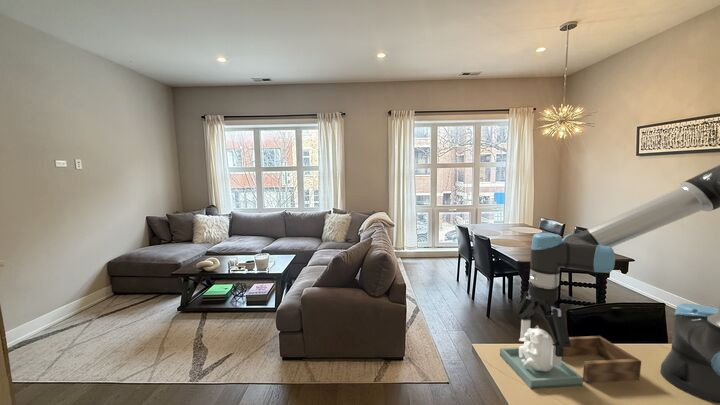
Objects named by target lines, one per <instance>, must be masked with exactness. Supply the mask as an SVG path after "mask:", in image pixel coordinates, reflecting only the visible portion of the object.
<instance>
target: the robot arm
mask: <svg viewBox="0 0 720 405" xmlns="http://www.w3.org/2000/svg"><path fill="white" fill-rule="evenodd" d="M717 209H720V164H719V165H717V166H714V167H712V168H710V169H708V170H705V171H703V172H702V173H699V174H698V175H695V176H693V177H691V178H689V179H687V180H685V181H682V182H681V183H680V185H679V187H678V188H676V189H674V190H672V191H670V192H667V193H665V194H662V195H660V196H659V197H656V198H654V199H652V200H649V201H648V202H646V203H643V204H641V205H639V206H636V207H635V208H632V209H629V210H628V211H625V212H623V213H621V214H619V215H616V216H615V217H612V218H610V219H607V220H604V221H603V222H601V223H599V224H596V225H595V226H592V227H590V228H588V229H585V230H582V231H581V232H578V233H571V234H570V233H569V234H567V235H565V236H564V237H562V236H561V235H560V234H557V233H552V232H551V233H549V232H536V233H535V234H533V236H532V240H531V247H530V262H529V264H530V266H529V269H530V270H529V283H528V291H524V292H523V298H522V299H521V302H520V304H519V306H518V308H517V309H516V314H517V315H519V318H520V335H519V336H520V337H519V339H520V338H524V334H525V333H527V330H528V329H529V328H531V323H532V322H531V317H532V316H533V315H534V314H535V313H537V314H539V315H540V316H541V317H542V319H543V321H545V324H546V326H547V328H548V331H549V333H550V336H551V338H552V341H554V343H552V346H551V360H550V365H551V366H561V360H562V357H563V350H564V347H571V343H570V340H569V337H570V336H569V332H568V329H567V326H566V321H565V315H564V309H563V308H557V307H556V306H555V302H556V301H557V300H558V299H559V298H558V297H559V288H558V287H559V285H560V270H561V268H563V269H571V270H578V271H586V272H592V273H603V274H604V273H607V274H608V273H609V274H610V273H611V272H612V271H613V270H614V268H615V264H616V255H615V252H614V249H613V247H615V246H618V245H621V244H622V243H625V242H627V241H628V242H629V241H630V240H633V239H636V238H637V237H639V236H642V235H645V234H647V233H650V232H652V231H654V230H657V229H661V228H662V227H664V226H667V225H670V224H671V223H675V222H676V221H679V220H682V219H684V218H686V217H689V216H691V215H693V214H696V213H699V212H701V211H704V212H709V213H710V212H712V211H714V210H717ZM673 314H674V317H673V318H674V320H673V328H672V329H673V330H672V338H671V339H672V341H671V349H670V351H669V352H668V354H667V355H666V357H664V359H663V361H662V363H661V364H660V372H659V373H660V375H661V376H662V377H663V379H665V381H667V382H669V383H670V384H671V385H673V386H674V387H676V388H677V389H679V390H682V391H684V392H686V393H688V394H690V395H693V396H696V397H698V398H701V399H702V400H707V401H710V402H713V403H718V404H720V302H719V305H718V307H712V306H708V305H701V304H695V303H694V304H693V303H679V304H678V305H676V307H675V312H674V313H673ZM563 358H564V357H563Z"/></svg>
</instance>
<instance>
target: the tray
mask: <svg viewBox="0 0 720 405" xmlns="http://www.w3.org/2000/svg"><path fill="white" fill-rule="evenodd" d="M519 347H520V346H518V347H501V348H499V357H501V358H502V359H503V361H505V363H506V364H507V365H508V367H510V368H511V369H512V370H513V371H514V373H515V374H517V376H518V377H519V378H520V379H521V380H522V381H523V382H524V384H526V386H528V388H529V389H530V390H537V389H555V388H569V387H572V388H573V387H582V386H583V383H584V381H583V376H581V375H580V374H579V373H577V372H576V370H574V369H573V368H571V366H569V365H568V364H566V362H564V361H563V360H562V359H561V366H553V368H552V369H551V370H549V371H546V372H544V371H537V370H534V369H533V368H532V367H531V366H530V367H527V368H525V367H524V366H523V364H522V361H521V360H520V358H519ZM524 359H525V361H526V358H525V356H524V357H523V360H524Z"/></svg>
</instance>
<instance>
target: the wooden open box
mask: <svg viewBox="0 0 720 405" xmlns="http://www.w3.org/2000/svg"><path fill="white" fill-rule="evenodd" d="M569 340H570V343H571V347H564V350H563V358H564V357H581V356H584V357H585V356H599V357H601V358H602V359H601V360H584V361H583V371H582V377H583V383H585V384H596V383H598V384H599V383H613V382H614V383H615V382H616V383H617V382H633V381H634V382H635V381H640V379H641V378H640V377H641V369H642V368H641V366H642V360H640V359H639V358H637V357H635V356H634V355H632V354H630V353H629V352H628V351H625V350H624V349H622V348H621V347H619V346H617V345H616V344H614V343H612V342H611V341H609V340H607V339H606V338H604V337H602V336H601V335H589V336H588V335H587V336H569ZM552 341H553V340H552ZM553 343H554V341H553Z"/></svg>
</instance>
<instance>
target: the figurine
mask: <svg viewBox="0 0 720 405" xmlns="http://www.w3.org/2000/svg"><path fill="white" fill-rule="evenodd" d="M518 341H519V342H523V345H520V346H518V347H519V358H520V360H521V361H522V364H523V366H524V367H525V368H527V367H530V366H531V367H532V368H533V369H534V370H537V371H544V372H546V371H549V370H551V369H552V368H553V366H551V365H550V360H551V346H552V343H553V339H552V336H551V334H549V333H548V332H547V331H546V330H545V329H543V328H540V326H539V325H536V326H535V327H534V328H533V327H532V328H531V327H530V328H529V329H528V330H527V333H525V334H524V338H520V337H519V339H518ZM524 356H525V358H526V361H525V359H524V360H523V357H524Z"/></svg>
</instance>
